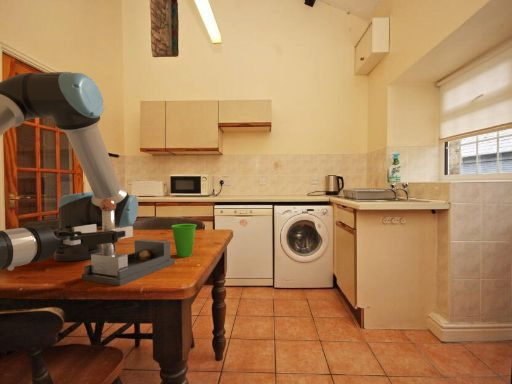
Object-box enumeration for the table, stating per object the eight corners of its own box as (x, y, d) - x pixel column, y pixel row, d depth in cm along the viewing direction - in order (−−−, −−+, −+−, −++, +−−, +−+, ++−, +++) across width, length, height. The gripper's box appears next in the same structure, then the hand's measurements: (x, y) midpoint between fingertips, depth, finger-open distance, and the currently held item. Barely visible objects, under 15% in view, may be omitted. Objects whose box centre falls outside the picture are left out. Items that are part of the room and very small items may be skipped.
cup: (200, 252, 107) (199, 223, 106) (192, 258, 98) (191, 227, 97) (177, 252, 107) (176, 223, 107) (167, 258, 98) (166, 227, 98)
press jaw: (117, 276, 73) (115, 198, 73) (90, 272, 77) (88, 198, 76) (129, 272, 77) (127, 197, 77) (102, 268, 81) (101, 197, 80)
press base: (120, 285, 72) (119, 256, 71) (81, 279, 77) (81, 252, 77) (174, 263, 92) (174, 240, 92) (141, 259, 97) (141, 238, 97)
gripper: (-8, 258, 63) (81, 240, 82) (68, 269, 54) (148, 246, 73) (-9, 225, 63) (81, 215, 82) (67, 230, 53) (148, 218, 73)
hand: (113, 230), depth 78 cm, fingers open, 13 cm apart
